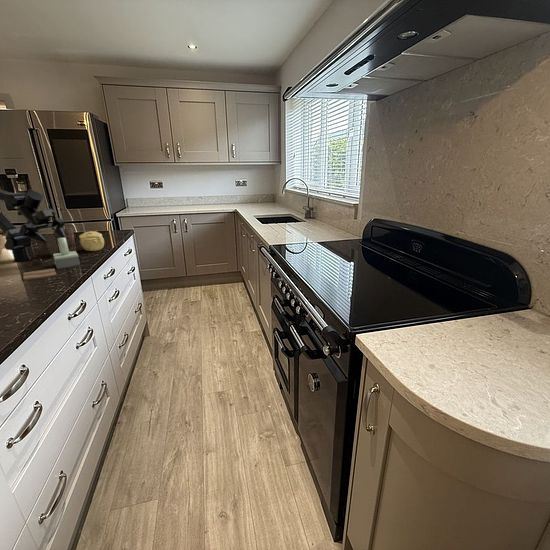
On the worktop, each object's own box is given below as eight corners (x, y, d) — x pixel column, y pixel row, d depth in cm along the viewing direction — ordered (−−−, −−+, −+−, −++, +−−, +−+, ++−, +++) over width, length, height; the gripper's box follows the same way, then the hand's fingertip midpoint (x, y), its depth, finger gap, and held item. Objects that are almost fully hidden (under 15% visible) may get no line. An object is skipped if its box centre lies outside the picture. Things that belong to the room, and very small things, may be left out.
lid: (53, 257, 142) (48, 237, 139) (76, 254, 147) (71, 235, 144) (55, 261, 135) (50, 241, 132) (78, 258, 140) (74, 238, 137)
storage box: (55, 264, 143) (53, 255, 141) (77, 261, 148) (75, 252, 147) (57, 269, 136) (54, 259, 135) (80, 265, 142) (78, 256, 140)
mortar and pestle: (82, 254, 161) (74, 216, 155) (64, 257, 155) (54, 218, 149) (74, 250, 168) (66, 214, 162) (56, 253, 162) (47, 216, 156)
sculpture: (80, 253, 163) (76, 233, 159) (84, 248, 173) (80, 230, 170) (104, 251, 167) (101, 232, 164) (106, 246, 178) (102, 228, 174)
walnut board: (23, 274, 130) (23, 272, 130) (54, 269, 136) (54, 267, 136) (23, 280, 122) (23, 279, 122) (56, 275, 128) (56, 273, 128)
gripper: (16, 205, 127) (42, 232, 127) (58, 201, 144) (80, 225, 144) (8, 223, 132) (33, 249, 132) (50, 217, 149) (72, 240, 149)
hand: (56, 240), depth 139 cm, fingers open, 9 cm apart
